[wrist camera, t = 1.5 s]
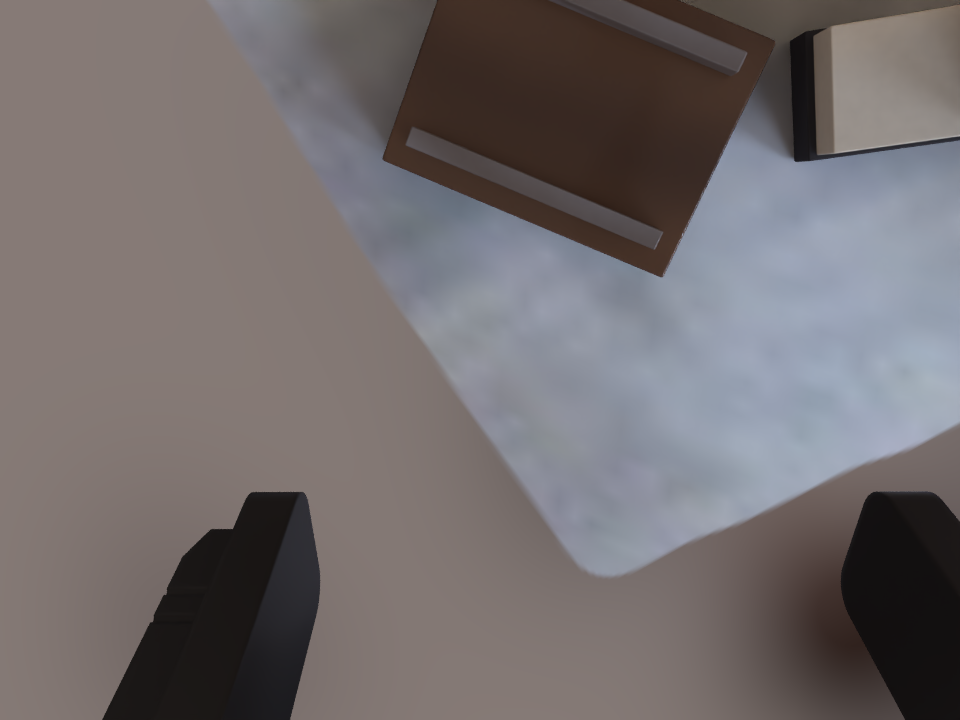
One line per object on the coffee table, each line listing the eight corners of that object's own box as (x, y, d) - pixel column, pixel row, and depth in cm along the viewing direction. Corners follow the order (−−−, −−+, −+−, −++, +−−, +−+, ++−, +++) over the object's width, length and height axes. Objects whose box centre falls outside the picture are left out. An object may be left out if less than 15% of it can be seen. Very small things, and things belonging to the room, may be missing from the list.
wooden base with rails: (476, -64, 31) (463, -100, 27) (757, 53, 31) (786, 34, 27) (397, 161, 34) (373, 159, 30) (654, 269, 34) (666, 282, 29)
